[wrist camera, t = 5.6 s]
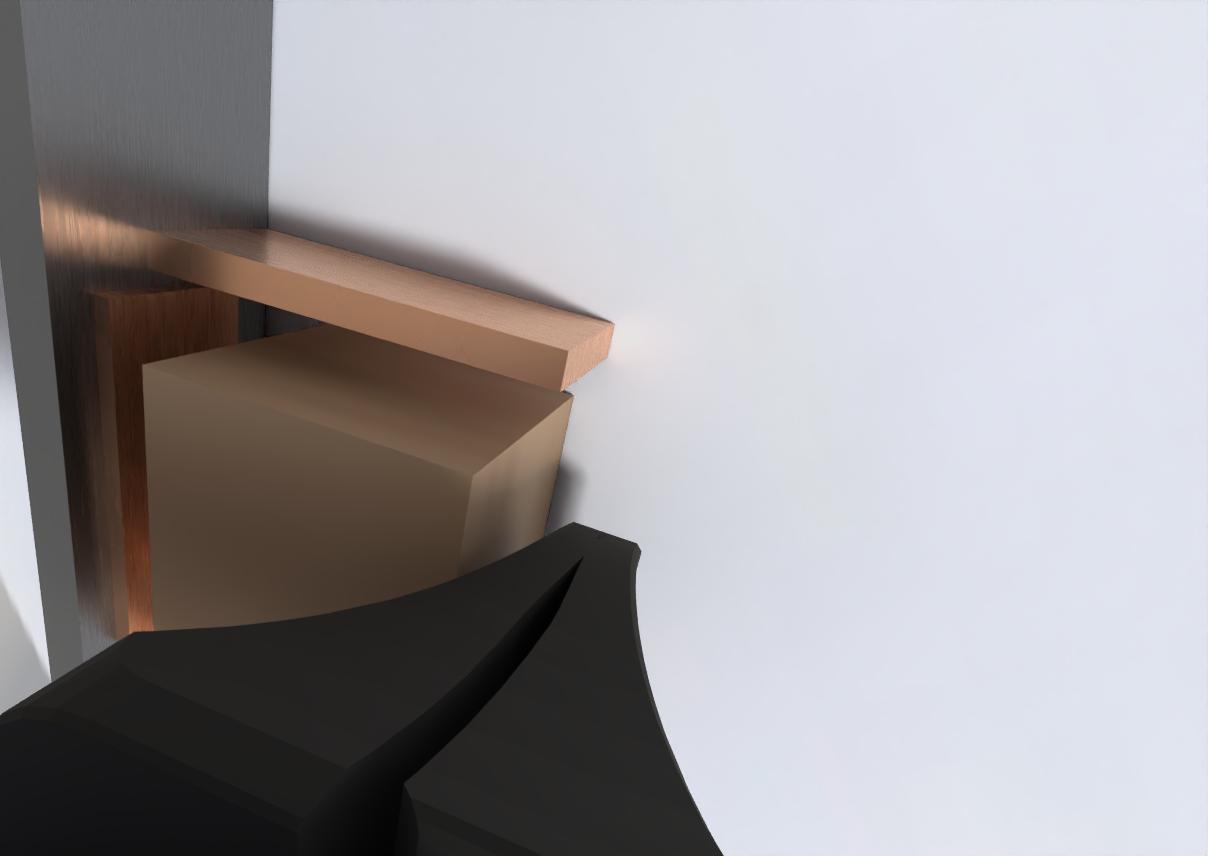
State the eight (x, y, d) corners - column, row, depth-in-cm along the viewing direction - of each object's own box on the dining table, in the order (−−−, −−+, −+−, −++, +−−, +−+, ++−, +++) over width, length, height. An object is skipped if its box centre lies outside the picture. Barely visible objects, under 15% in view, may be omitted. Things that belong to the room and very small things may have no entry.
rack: (481, 917, 17) (393, 1116, 13) (228, 799, 18) (83, 947, 14) (743, -249, 8) (707, -627, 5) (235, -301, 10) (-104, -622, 6)
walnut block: (525, 618, 13) (424, 770, 10) (318, 541, 14) (154, 652, 11) (573, 395, 12) (472, 476, 8) (333, 322, 12) (141, 364, 9)
